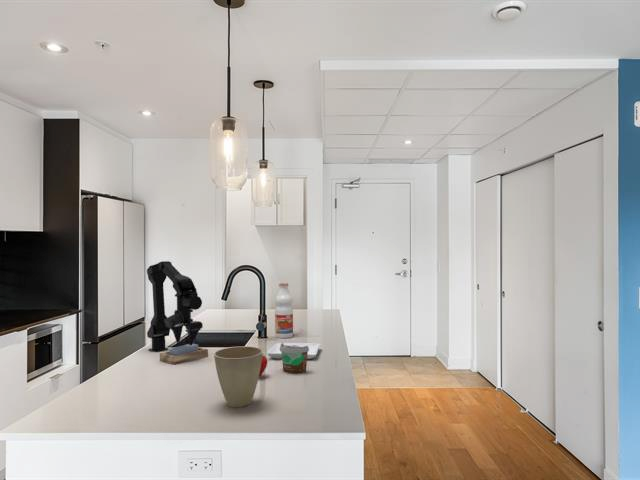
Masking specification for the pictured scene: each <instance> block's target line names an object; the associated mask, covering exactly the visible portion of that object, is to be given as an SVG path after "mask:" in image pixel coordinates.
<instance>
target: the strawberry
mask: <svg viewBox="0 0 640 480" xmlns="http://www.w3.org/2000/svg"><path fill="white" fill-rule="evenodd" d="M267 366H268V359H267V356H266V355H265V354H263V353H262V361H261V368H260V373H259V378H260V377H262V374H263V373H264V372H265V370H266V368H267Z"/></svg>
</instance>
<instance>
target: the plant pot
mask: <svg viewBox="0 0 640 480" xmlns="http://www.w3.org/2000/svg"><path fill="white" fill-rule="evenodd" d="M263 352H264V351H263V349H261V348H259V347H257V346H249V345H247V346H246V345H245V346H230V347H226V348H220V349H218V350H215V351H214V353H213V357H214V362H215V370H216V374H217V377H218V382H219V386H220V389H221V392H222V393H223V394H222V395H223V396H224V399H225V402H226V404H227V405H228V406H229V407H231V408H242V407H243V408H244V407H247V406H249V405H250V404H252V401H253V399H254V395H255V393H256V389H257V385H258V383H259V378H260V377H259V373H260V368H261V361H262V354H263Z"/></svg>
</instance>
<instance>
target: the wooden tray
mask: <svg viewBox="0 0 640 480" xmlns="http://www.w3.org/2000/svg"><path fill="white" fill-rule="evenodd" d="M208 357H209V349H208V348H204V347H200V346H198V351H194V352H190V353H185V354H181V355H177V356H174V355H170V354H169V351H165V352H161V353H159V362H162V363H166V364H169V365H173V366H175V365H179V364H182V363H183V364H184V363H187V362H192V361H196V360H199V359H204V358H208Z"/></svg>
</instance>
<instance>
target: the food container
mask: <svg viewBox="0 0 640 480" xmlns="http://www.w3.org/2000/svg"><path fill="white" fill-rule="evenodd" d="M281 343H282V344H281V346H280V351H281V353H282V359H281V361H282V362H281V364H282V370H283V372H284V373H286V374H293V375H294V374H296V375H297V374H303V373H306V372H307V365H308V359H307V353H308V351H309V347H308V346H304V347H299V346H286V345H283V343H284V342H281Z"/></svg>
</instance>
